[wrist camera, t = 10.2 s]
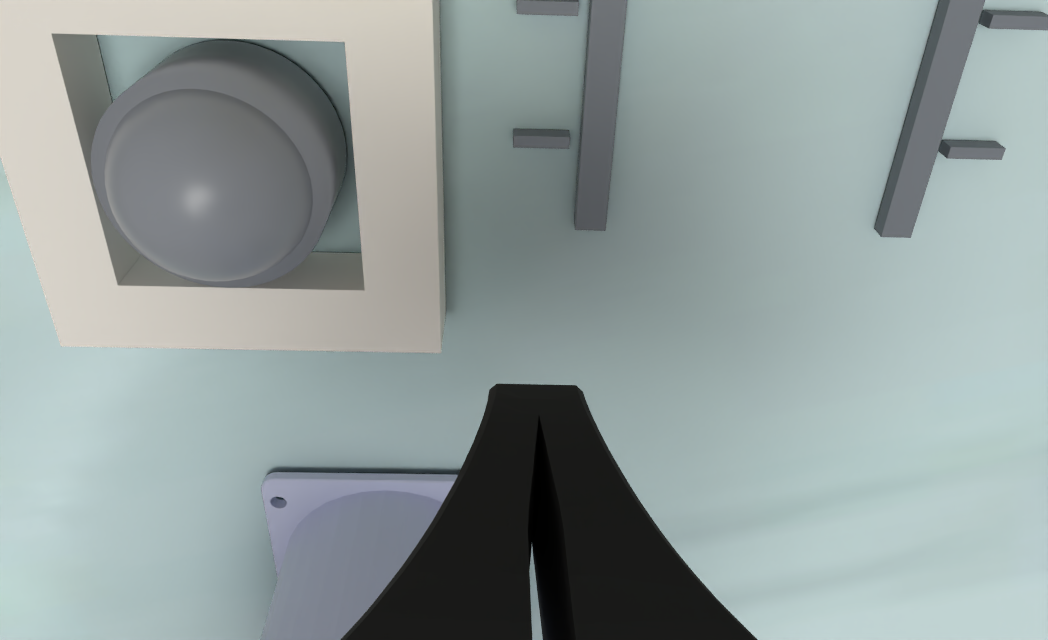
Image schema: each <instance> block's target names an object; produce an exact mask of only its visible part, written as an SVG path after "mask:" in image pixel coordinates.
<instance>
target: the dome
mask: <svg viewBox="0 0 1048 640" xmlns="http://www.w3.org/2000/svg"><path fill="white" fill-rule="evenodd" d="M346 162H347V157H346V143H345V137H344V133H343V129H342V126H341V123H340V120H339V118H338V116H337V113H336V111H335V109H334V107H333V106H332V104H331V102H330V101H329V99H328V97H327V96H326V95H325V93H324V92H323V91H322V89H321V88H320V87H319V86H318V85H317V84H316V82H315V81H314V80H313V79H312V78H311V77H310V76H309V75H308V74H306V73H305V72H304V71H303V70H302V69H300V68H299V67H298V66H297V65H295V64H294V63H292V62H291V61H289V60H288V59H286V58H284V57H283V56H281V55H279V54H277V53H275V52H273V51H271V50H268V49H265V48H262V47H260V46H257V45H253V44H249V43H244V42H239V41H228V40H220V41H208V42H202V43H197V44H194V45H191V46H188V47H185V48H183V49H181V50H179V51H177V52H175V53H173V54H172V55H170V56H169V57H167V58H166V59H165V60H163V61H162V62H161V63H159V64H158V65H157V66H156V67H155V68H153V69H152V70H151V71H150V72H148V73H147V74H146V75H145V76H143V77H142V78H141V79H140V80H138V81H137V82H136V83H135V84H133V85H132V86H131V87H130V88H128V89H127V90H126V91H125V92H123V93H122V94H121V95H120V96H119V97H118V98H117V99H116V100H115V101H114V102H113V103H112V104H111V105H110V106H109V107H108V109H107V110H106V112H105V113H104V115H103V116H102V118H101V120H100V122H99V124H98V126H97V128H96V131H95V135H94V138H93V142H92V150H91V172H92V177H93V182H94V187H95V190H96V193H97V196H98V199H99V201H100V203H101V205H102V207H103V209H104V211H105V213H106V215H107V216H108V218H109V220H110V221H111V223H112V224H113V226H114V227H115V228H116V230H117V231H118V232H119V233H120V235H121V236H122V237H123V238H124V239H125V240H126V241H127V242H128V243H129V244H130V245H131V246H132V247H133V248H134V249H135V250H136V251H137V252H139V253H140V254H141V255H142V256H143V257H145V258H146V259H147V260H149V261H150V262H152V263H153V264H155V265H156V266H158V267H160V268H162V269H163V270H165V271H167V272H169V273H171V274H173V275H176V276H178V277H180V278H183V279H185V280H188V281H192V282H195V283H199V284H203V285H208V286H214V287H225V288H238V287H249V286H255V285H260V284H263V283H267V282H270V281H272V280H275V279H277V278H279V277H282V276H283V275H285V274H287V273H288V272H290V271H292V270H293V269H294V268H296V267H297V266H298V265H299V264H300V263H302V262H303V261H304V260H305V258H306V257H307V256H308V255H309V254H310V253H311V252H312V250H313V249H314V247H315V245H316V244H317V242H318V240H319V238H320V236H321V234H322V232H323V229H324V227H325V224H326V222H327V220H328V217H329V215H330V212H331V210H332V208H333V205H334V203H335V200H336V198H337V195H338V193H339V191H340V188H341V186H342V183H343V179H344V175H345V170H346Z"/></svg>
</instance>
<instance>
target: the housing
mask: <svg viewBox="0 0 1048 640" xmlns="http://www.w3.org/2000/svg"><path fill="white" fill-rule="evenodd" d="M96 35H124V36H158V37H192V38H227V39H261V40H295V41H329V42H345V52H346V64H347V77H348V89H349V102H350V114H351V126H352V139H353V151H354V164H355V176H356V188H357V201H358V213H359V226H360V238H361V250H362V253H332V252H311V253H310V254H309V255H308V256H307V257H306V258H305V260H304V261H303V262H302V263H300V264H299V265H298V266H297V267H296V268H294V269H293V270H292V271H290V272H288V273H287V274H285V275H283V276H282V277H279V278H277V279H275V280H272V281H270V282H267V283H263V284H260V285H255V286H249V287H238V288H225V287H214V286H208V285H203V284H199V283H195V282H192V281H188V280H185V279H183V278H180V277H178V276H176V275H173V274H171V273H169V272H167V271H165V270H163V269H162V268H160V267H158V266H156V265H155V264H153V263H152V262H150V261H149V260H147V259H146V258H145V257H143V256H142V255H141V254H140V253H139V252H137V251H136V250H135V249H134V248H133V247H132V246H131V245H130V244H129V243H128V242H127V241H126V240H125V239H124V238H123V237H122V236H121V235H120V233H119V232H118V231H117V230H116V228H115V227H114V226H113V224H112V223H111V221H110V220H109V218H108V216H107V215H106V213H105V211H104V209H103V207H102V205H101V203H100V201H99V199H98V196H97V193H96V190H95V187H94V182H93V177H92V172H91V150H92V142H93V138H94V135H95V131H96V128H97V126H98V124H99V122H100V120H101V118H102V116H103V115H104V113H105V112H106V110H107V109H108V107H109V106H110V105H111V104H112V100H111V96H110V92H109V87H108V83H107V79H106V75H105V70H104V66H103V62H102V58H101V53H100V49H99V45H98V41H97V37H96ZM0 157H1V160H2V164H3V167H4V170H5V173H6V176H7V179H8V182H9V185H10V189H11V192H12V195H13V198H14V201H15V204H16V207H17V210H18V214H19V217H20V220H21V223H22V226H23V229H24V232H25V235H26V238H27V242H28V245H29V248H30V251H31V254H32V257H33V260H34V263H35V267H36V270H37V273H38V276H39V279H40V282H41V285H42V288H43V292H44V295H45V298H46V301H47V304H48V307H49V310H50V313H51V317H52V320H53V323H54V326H55V329H56V332H57V335H58V338H59V342H60V345H61V346H71V347H126V348H181V349H237V350H292V351H347V352H402V353H441V350H442V342H443V333H444V325H445V316H446V297H445V248H444V200H443V151H442V103H441V54H440V6H439V0H0Z"/></svg>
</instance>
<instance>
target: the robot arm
mask: <svg viewBox="0 0 1048 640" xmlns="http://www.w3.org/2000/svg"><path fill="white" fill-rule="evenodd" d="M261 492H262V497H263V502H264V508H265V513H266V518H267V524H268V529H269V535H270V540H271V545H272V551H273V556H274V562H275V567H276V572H277V578H278V580H277V584H276V587H275V591H274V594H273V597H272V601H271V604H270V608H269V611H268V615H267V618H266V622H265V625H264V629H263V632H262V635H261V639H260V640H532V625H531V601H530V577H529V569H530V557H531V546H532V547H533V556H534V565H535V574H536V582H537V591H538V600H539V608H540V617H541V626H542V634H543V640H757V639H756V638H755V637H754V636H753V635H752V634H751V633H750V632H749V631H748V630H747V629H746V628H745V627H744V626H743V625H742V624H741V623H740V622H739V621H738V620H737V619H736V618H735V617H734V616H733V615H732V614H731V613H730V612H729V611H728V610H727V609H726V608H725V607H724V606H723V605H722V604H721V603H720V602H719V601H718V600H717V599H716V598H715V596H714V595H713V594H712V593H711V592H710V591H709V590H708V588H707V587H706V586H705V585H704V584H703V583H702V582H701V581H700V579H699V578H698V577H697V576H696V575H695V574H694V573H693V571H692V570H691V569H690V568H689V567H688V565H687V564H686V563H685V562H684V560H683V559H682V558H681V557H680V556H679V554H678V553H677V552H676V551H675V549H674V548H673V547H672V546H671V544H670V543H669V542H668V540H667V539H666V538H665V536H664V535H663V534H662V532H661V531H660V529H659V528H658V527H657V525H656V524H655V523H654V521H653V520H652V518H651V517H650V515H649V514H648V512H647V511H646V509H645V508H644V507H643V505H642V504H641V502H640V501H639V499H638V498H637V496H636V494H635V493H634V491H633V490H632V488H631V487H630V485H629V483H628V482H627V480H626V478H625V477H624V475H623V473H622V472H621V470H620V468H619V467H618V465H617V463H616V461H615V460H614V458H613V456H612V454H611V453H610V451H609V449H608V447H607V445H606V443H605V441H604V439H603V437H602V436H601V434H600V432H599V430H598V428H597V425H596V423H595V421H594V419H593V417H592V415H591V412H590V410H589V408H588V405H587V403H586V400H585V397H584V394H583V392H582V391H581V390H580V389H579V388H578V387H577V386H576V385H530V384H496V385H495V386H494V387H492V388H491V389H490V390H489V396H488V402H487V405H486V409H485V413H484V416H483V419H482V422H481V424H480V427H479V430H478V432H477V435H476V437H475V440H474V442H473V445H472V447H471V449H470V451H469V453H468V455H467V457H466V460H465V462H464V464H463V466H462V468H461V470H460V472H459V474H458V475H448V474H375V473H302V472H275V473H270V474H268V475H267V476H266V477H265V478H264V480H263V483H262V487H261ZM276 497H282V498H284V500H281V499H277V498H276Z"/></svg>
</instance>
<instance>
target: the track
mask: <svg viewBox="0 0 1048 640" xmlns="http://www.w3.org/2000/svg"><path fill="white" fill-rule="evenodd" d="M984 2H985V0H940V1H939V4H938V8H937V11H936V15H935V18H934V22H933V25H932V29H931V32H930V36H929V39H928V43H927V46H926V50H925V53H924V57H923V60H922V64H921V67H920V71H919V74H918V78H917V81H916V85H915V88H914V92H913V95H912V99H911V102H910V106H909V109H908V113H907V116H906V120H905V123H904V127H903V130H902V134H901V137H900V141H899V144H898V148H897V151H896V155H895V158H894V162H893V165H892V169H891V172H890V176H889V179H888V183H887V186H886V190H885V193H884V197H883V200H882V204H881V207H880V211H879V214H878V218H877V221H876V225H875V228H874V229H875V230H876V231H877V232H878V234H879V235H880V236H881V237H906V238H911V235H912V232H913V229H914V226H915V222H916V219H917V216H918V213H919V210H920V206H921V203H922V200H923V197H924V194H925V190H926V187H927V184H928V181H929V178H930V175H931V171H932V168H933V165H934V162H935V159H936V155H937V152H938V149H939V146H940V143H941V146H940V149H939V152H940V153H942V154H943V155H944V156H945V157H946V158H951V159H990V160H1002V157H1003V154H1004V152H1005V149H1006V148H1004V147H1003V146H1001V145H1000V144H999V143H997V142H996V141H962V140H942V142H941V139H942V136H943V133H944V130H945V127H946V123H947V120H948V117H949V114H950V111H951V108H952V104H953V101H954V98H955V95H956V92H957V88H958V85H959V82H960V79H961V76H962V72H963V69H964V66H965V63H966V60H967V57H968V53H969V50H970V47H971V44H972V41H973V37H974V34H975V31H976V28H977V25H978V21H979V18H980V15H981V12H982V9H983V6H984ZM578 6H579V1H578V0H517V14H532V15H564V16H578ZM626 8H627V0H590V6H589V20H588V34H587V48H586V62H585V76H584V90H583V104H582V118H581V132H580V146H579V160H578V174H577V188H576V202H575V216H574V224H575V230H597V231H605V230H606V220H607V209H608V199H609V188H610V177H611V167H612V156H613V146H614V135H615V124H616V114H617V103H618V93H619V82H620V72H621V61H622V50H623V40H624V29H625V19H626ZM979 24H981V25H983V26H985V27H987V28H992V29H1025V30H1048V15H1047V14H1045V13H1043V12H1028V11H996V10H983V12H982V15H981V18H980V22H979ZM569 145H570V134H569V130H543V129H513V147H521V148H561V149H569Z"/></svg>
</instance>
